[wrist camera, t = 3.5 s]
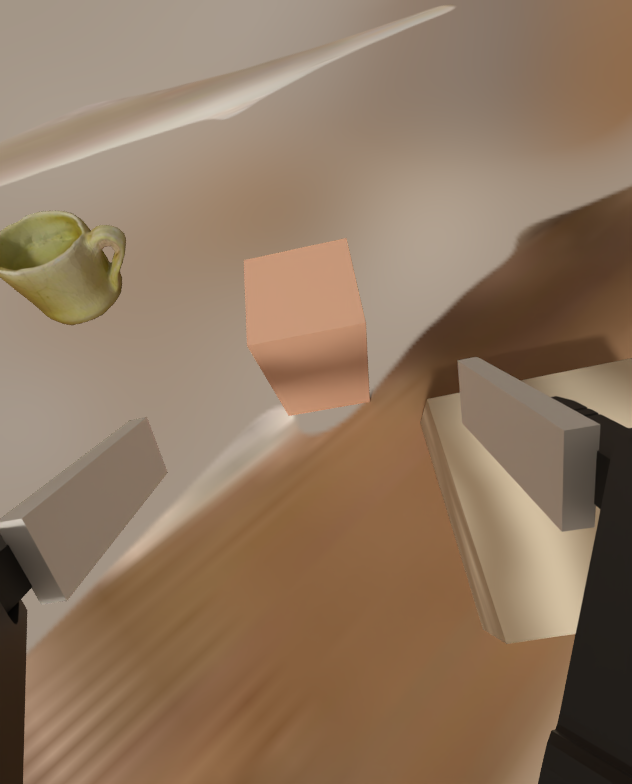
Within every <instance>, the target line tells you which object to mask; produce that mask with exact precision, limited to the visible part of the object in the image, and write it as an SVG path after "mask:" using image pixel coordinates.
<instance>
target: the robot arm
mask: <svg viewBox="0 0 632 784" xmlns="http://www.w3.org/2000/svg"><path fill="white" fill-rule="evenodd" d="M457 361H458V374H459V387H460V401H461V414H462V423H463V424H464V426H465V427H466V428H467V429H468V430H469V431H470V432H471V433H472V434H473V435H474V437H475V438H476V439H477V440H478V441H479V442H480V443H481V444H482V445H483V446H484V447H485V449H486V450H487V451H488V452H489V453H490V454H491V455H492V456H493V457H494V458H495V459H496V461H497V462H498V463H499V464H500V465H501V466H502V467H503V468H504V469H505V470H506V471H507V473H508V474H509V475H510V476H511V477H512V478H513V479H514V480H515V481H516V482H517V483H518V485H519V486H520V487H521V488H522V489H523V490H524V491H525V492H526V493H527V494H528V495H529V497H530V498H531V499H532V500H533V501H534V502H535V503H536V504H537V505H538V506H539V507H540V509H541V510H542V511H543V512H544V513H545V514H546V515H547V516H548V517H549V518H550V519H551V521H552V522H553V523H554V524H555V525H556V526H557V527H558V528H559V529H560V530H561V531H562V532H564V531H571V530H579V529H586V528H593V527H595V512H596V506H597V507H598V508H599V509H600V514H599V519H598V524H597V530H596V535H595V540H594V545H593V550H592V555H591V560H590V565H589V570H588V575H587V580H586V585H585V590H584V595H583V600H582V605H581V610H580V615H579V620H578V625H577V630H576V635H575V640H574V645H573V650H572V655H571V660H570V665H569V670H568V675H567V680H566V685H565V690H564V695H563V700H562V705H561V710H560V715H559V719H558V724H557V726H556V729H555V730H552V731H551V734H550V737H549V739H548V742H547V746H546V751H545V755H544V759H543V763H542V768H541V772H540V777H539V782H538V784H632V428H627V427H625V426H623V425H621V424H619V423H617V422H615V421H613V420H611V419H609V418H607V417H605V416H603V415H601V414H598V412H596V411H594V410H592V409H588V408H587V407H586V406H584V405H582V404H580V403H578V402H576V401H574V400H570V399H566V398H562V397H558V396H554V397H549V396H547V395H546V394H544V393H542V392H540V391H538V390H537V389H535V388H533V387H531V386H529V385H527V384H526V383H524V382H522V381H520V380H518V379H517V378H515V377H513V376H511V375H509V374H507V373H506V372H504V371H502V370H500V369H498V368H497V367H495V366H493V365H491V364H489V363H487V362H486V361H484V360H482V359H480V358H478V357H473V358H468V359H462V360H457ZM167 473H168V472H167V469H166V467H165V464H164V462H163V459H162V456H161V454H160V451H159V448H158V446H157V443H156V440H155V437H154V435H153V432H152V430H151V427H150V424H149V422H148V419H147V417H145V418H139V419H134V420H130V421H128V422H127V423H126V424H125V425H123V426H122V427H121V428H119V429H118V430H117V431H115V432H114V433H113V434H111V435H110V436H109V437H107V438H106V439H105V440H103V441H102V442H101V443H99V444H98V445H97V446H95V447H94V448H93V449H92V450H90V451H89V452H88V453H86V454H85V455H84V456H83V457H81V458H80V459H78V460H77V461H76V462H74V463H73V464H72V465H70V466H69V467H68V468H66V469H65V470H64V471H62V472H61V473H60V474H58V475H57V476H56V477H55V478H53V479H52V480H51V481H49V482H48V483H47V484H45V485H44V486H43V487H41V488H40V489H39V490H37V491H36V492H35V493H33V494H32V495H31V496H30V497H28V498H27V499H26V500H24V501H23V502H21V503H20V504H19V505H18V506H16V507H15V508H14V509H12V510H11V511H10V512H8V513H7V514H6V515H4V516H3V517H2V518H0V784H23V757H24V717H25V678H26V639H27V638H26V637H27V609H26V607H25V605H24V604H23V602H22V600H21V598H22V597H23V596H24V595H25V594H26V593H27V592H28V591H29V590H30V589H31V588H32V589H33V591H34V593H35V595H36V596H37V598H38V600H39V601H40V603H41V604H48V603H56V602H63V601H67V600H68V599H69V598H70V596H71V595H72V594H73V592H74V591H75V590H76V588H77V587H78V586H79V585H80V584H81V582H82V581H83V580H84V578H85V577H86V576H87V575H88V573H89V572H90V571H91V570H92V568H93V567H94V566H95V564H96V563H97V562H98V561H99V559H100V558H101V557H102V555H103V554H104V553H105V552H106V550H107V549H108V548H109V547H110V545H111V544H112V543H113V542H114V540H115V539H116V538H117V536H118V535H119V534H120V533H121V531H122V530H123V529H124V528H125V526H126V525H127V524H128V522H129V521H130V520H131V519H132V517H133V516H134V515H135V514H136V512H137V511H138V510H139V508H140V507H141V506H142V505H143V503H144V502H145V501H146V500H147V498H148V497H149V496H150V494H151V493H152V492H153V491H154V489H155V488H156V487H157V486H158V484H159V483H160V482H161V480H162V479H163V478H164V477H165V475H166V474H167Z"/></svg>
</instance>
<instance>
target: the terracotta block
mask: <svg viewBox="0 0 632 784" xmlns="http://www.w3.org/2000/svg"><path fill="white" fill-rule="evenodd" d="M244 273H245V274H244V276H245V300H246V301H245V302H246V326H247V346H248V348H249V350H250V351H251V353H252V355H253V356H254V358H255V360H256V361H257V363H258V365H259V366H260V368H261V370H262V371H263V373H264V375H265V376H266V378H267V380H268V382H269V383H270V385H271V387H272V388H273V390H274V391H275V393H276V395H277V397H278V398H279V400H280V402H281V403H282V405H283V407H284V408H285V410H286V412H287V413H288V415H289V416H291V415H297V414H302V413H308V412H314V411H319V410H325V409H330V408H336V407H342V406H348V405H354V404H360V403H365V402H370V396H369V377H368V357H367V338H366V322H365V318H364V313H363V308H362V304H361V300H360V295H359V291H358V287H357V282H356V278H355V274H354V269H353V265H352V260H351V256H350V252H349V247H348V243H347V239H346V238H345V239H340V240H335V241H331V242H326V243H322V244H317V245H312V246H307V247H303V248H299V249H294V250H289V251H284V252H280V253H275V254H271V255H266V256H261V257H257V258H252V259H247V260H244Z"/></svg>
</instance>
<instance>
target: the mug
mask: <svg viewBox="0 0 632 784" xmlns="http://www.w3.org/2000/svg"><path fill="white" fill-rule="evenodd" d="M106 246H112V248H113V249H114V251H115V253H114V256H113V259H112V263H110V262H109V261H108V259H107V257H106V255H105V254H104V252H103V251H102V249H103V248H104V247H106ZM125 246H126V238H125V235H124V233H123V232H122V231H121V230H120V229H118V228H116V227H114V226H109V225H99V226H96V227H95V228H94V229H93V230H92V231H91V230H90V229H89V228H88V227H87V225H86V224H85V223H84V222H83V221H82V220H81V219H80V218H78V217H77V216H76V215H74V214H72V213H69V212H65V211H42V212H37V213H34V214H31V215H27V216H25V217H24V218H22V219H21V220H20V221H19V222H16V223H14V224H11V225H9V226H7V227H6V228H4V229H3V230H1V231H0V278H2V279H3V280H4V281H5V282H6V283H8V284H9V285H10V286H12V287H13V288H14V289H15V290H16V291H17V292H19V293H20V294H21V295H23V296H24V297H25V298H27V299H28V300H29V301H30V302H32V303H33V304H34V305H35V306H36V307H38V308H39V309H40V310H41V311H42V312H43V313H44V314H45V315H46V316H48V317H49V318H51V319H53V320H55V321H58V322H60V323H63V324H67V325H75V324H80V323H83V322H87V321H89V320H93V319H95V318H97V317H99V316H101V315H103V314H104V313H105V312H106V311H107V310H108V309H109V308H110V307H111V306H112V305H113V304H114V302H115V301H116V300H117V298H118V297H119V295H120V293H121V288H122V277H121V274H120V268H121V265H122V263H123V258H124V254H125Z"/></svg>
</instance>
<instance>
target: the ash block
mask: <svg viewBox="0 0 632 784" xmlns="http://www.w3.org/2000/svg"><path fill="white" fill-rule="evenodd" d="M520 381H522V382H524V383H526V384H527V385H529V386H531V387H533V388H535V389H537V390H538V391H540V392H542V393H544V394H546V395H547V396H549V397H554V396H558V397H562V398H566V399H570V400H574V401H576V402H578V403H580V404H582V405H584V406H586V407H587V408H588V409H592V410H594V411H596V412H598V414H601V415H603V416H605V417H607V418H609V419H611V420H613V421H615V422H617V423H619V424H621V425H623V426H625V427H627V428H632V358H630V359H625V360H620V361H615V362H610V363H605V364H600V365H595V366H590V367H585V368H580V369H575V370H570V371H565V372H560V373H555V374H550V375H545V376H540V377H535V378H530V379H525V380H520ZM420 424H421V427H422V431H423V434H424V437H425V440H426V444H427V447H428V450H429V454H430V457H431V460H432V463H433V467H434V470H435V473H436V477H437V480H438V483H439V486H440V490H441V493H442V496H443V500H444V503H445V506H446V509H447V513H448V516H449V519H450V523H451V526H452V529H453V532H454V536H455V539H456V542H457V546H458V549H459V552H460V555H461V559H462V562H463V565H464V569H465V572H466V575H467V578H468V582H469V585H470V588H471V591H472V595H473V598H474V601H475V605H476V608H477V611H478V614H479V618H480V621H481V624H482V628H483V630H485V631H487V632H488V633H490V634H491V635H493V636H495V637H496V638H498V639H500V640H501V641H503V642H505V643H506V644H509V643H516V642H523V641H529V640H536V639H543V638H550V637H557V636H564V635H570V634H576V630H577V625H578V620H579V615H580V610H581V605H582V600H583V595H584V590H585V585H586V580H587V575H588V570H589V565H590V560H591V555H592V550H593V545H594V540H595V535H596V530H597V524H598V519H599V514H600V509H599V508H598V507H597V506H596V512H595V527H593V528H586V529H579V530H571V531H564V532H562V531H561V530H560V529H559V528H558V527H557V526H556V525H555V524H554V523H553V522H552V521H551V519H550V518H549V517H548V516H547V515H546V514H545V513H544V512H543V511H542V510H541V509H540V507H539V506H538V505H537V504H536V503H535V502H534V501H533V500H532V499H531V498H530V497H529V495H528V494H527V493H526V492H525V491H524V490H523V489H522V488H521V487H520V486H519V485H518V483H517V482H516V481H515V480H514V479H513V478H512V477H511V476H510V475H509V474H508V473H507V471H506V470H505V469H504V468H503V467H502V466H501V465H500V464H499V463H498V462H497V461H496V459H495V458H494V457H493V456H492V455H491V454H490V453H489V452H488V451H487V450H486V449H485V447H484V446H483V445H482V444H481V443H480V442H479V441H478V440H477V439H476V438H475V437H474V435H473V434H472V433H471V432H470V431H469V430H468V429H467V428H466V427H465V426H464V424H463V423H462V414H461V401H460V393H455V394H450V395H445V396H440V397H435V398H430V399H427V401H426V405H425V408H424V412H423V415H422V418H421V422H420Z"/></svg>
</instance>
